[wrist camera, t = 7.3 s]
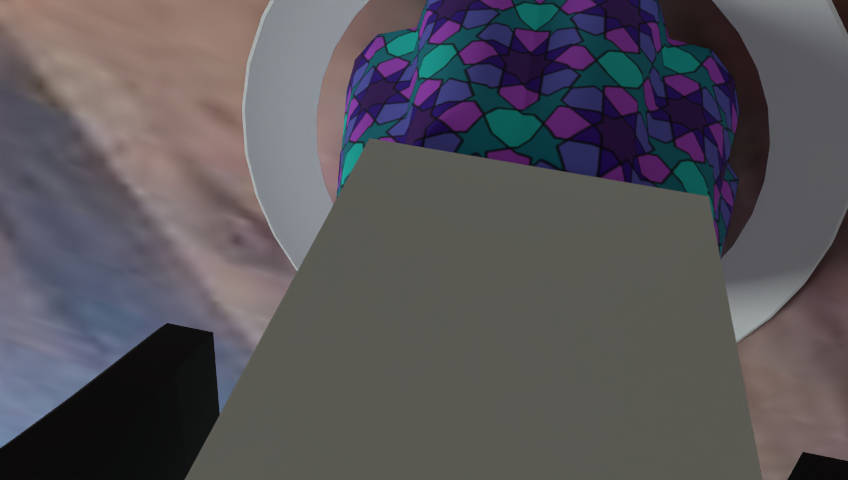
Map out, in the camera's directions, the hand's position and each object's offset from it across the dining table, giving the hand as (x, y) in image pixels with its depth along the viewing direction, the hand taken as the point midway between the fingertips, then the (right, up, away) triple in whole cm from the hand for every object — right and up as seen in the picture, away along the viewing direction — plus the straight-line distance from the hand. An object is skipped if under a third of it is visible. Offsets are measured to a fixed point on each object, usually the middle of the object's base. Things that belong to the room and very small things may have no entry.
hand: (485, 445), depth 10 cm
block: (+1, +2, +2) cm, 3 cm away
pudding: (+2, +4, +7) cm, 8 cm away
